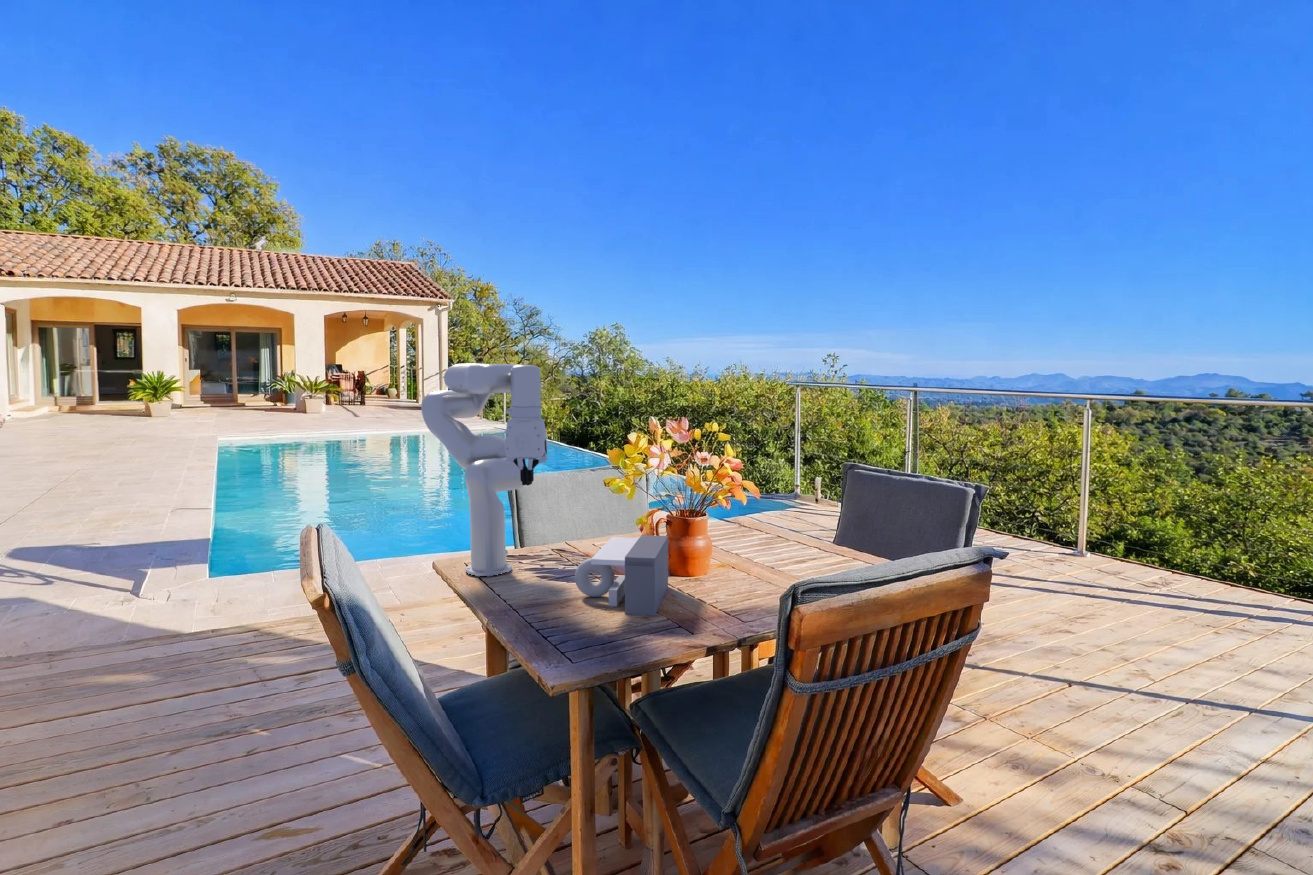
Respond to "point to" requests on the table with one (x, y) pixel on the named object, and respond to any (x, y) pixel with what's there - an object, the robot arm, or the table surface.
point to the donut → (589, 587)
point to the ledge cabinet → (637, 572)
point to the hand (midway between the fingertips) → (527, 484)
